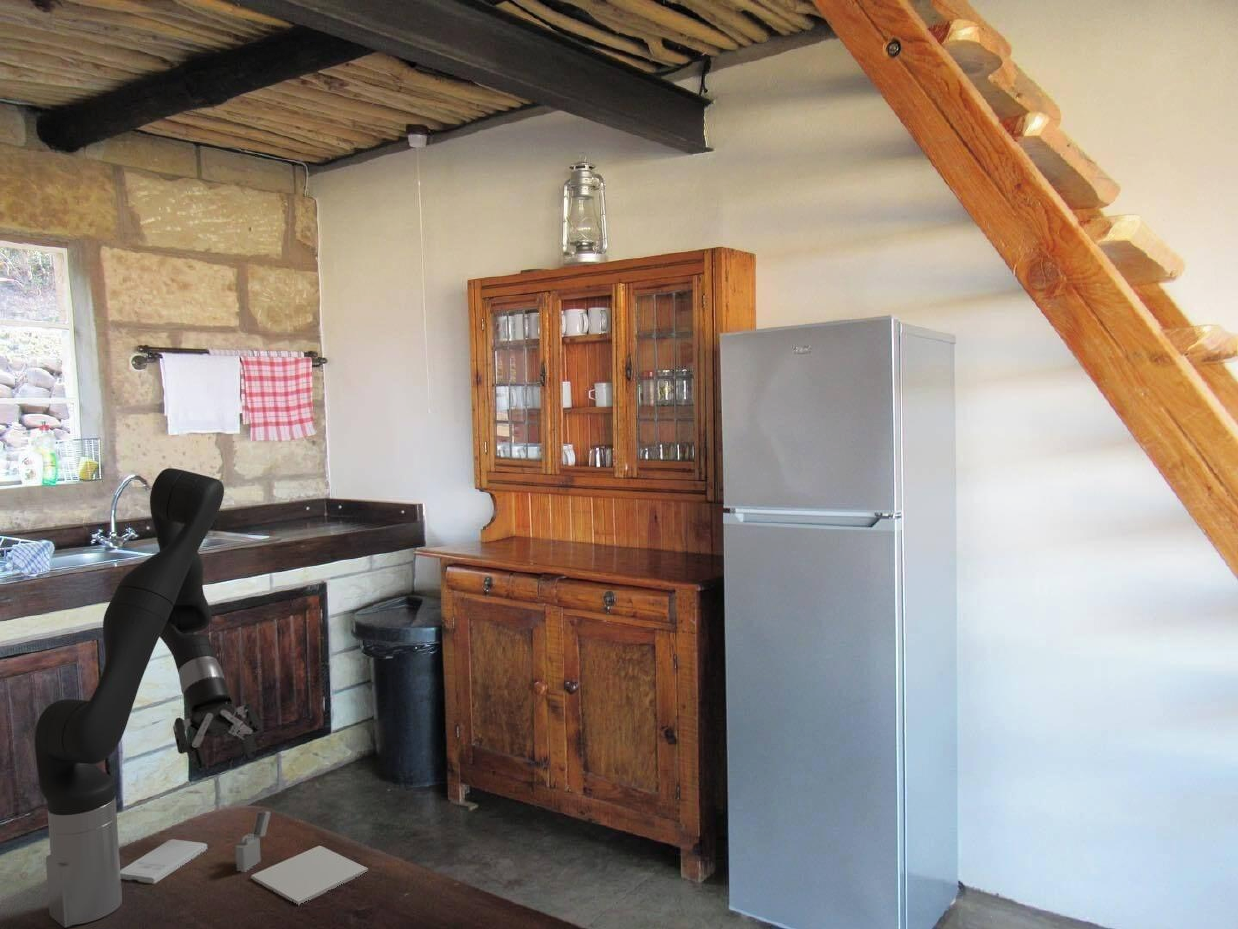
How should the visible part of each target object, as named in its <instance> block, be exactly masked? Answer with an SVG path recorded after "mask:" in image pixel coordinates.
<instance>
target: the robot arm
mask: <svg viewBox="0 0 1238 929" xmlns="http://www.w3.org/2000/svg"><path fill="white" fill-rule="evenodd" d="M224 496H225V487H224V484H223V482H222V481H221V480H220V479H218V478H215V477H211V476H208V475H203V474H199V473H196V472H192V471H188V470H185V469H184V470H183V469H179V468H172V467H168V468H165V469H162V470H161V471H160V472H159V474H158V475H157V476H156V478H155V479H154V481H153V484H152V486H151V490H150V495H149V507H150V515H151V520H152V524H153V528H154V532H155V536H156V537H155V538H156V541H157V546H158V549H159V551H158V552H157V553H155V554H153V555H152V556H151V557H149V558H147V559H146V560H144V561H142V563H139V564H138V565H137V566H135V567H134V568H132V569H131V570H130V571H129V572H127V574H126V575H124V577H123V578H122V579H121V580H120V582H119V583H118V585H117V587H116V589H115V591H114V592H113V593H114V594H113V595H112V597H111V599H110V601H109V604H108V606H107V608H106V610H105V612H104V615H103V620H102V631H103V632H102V634H103V635H102V636H103V644H104V654H105V657H104V658H105V659H104V665H103V666H104V667H103V670H102V674H101V676H100V678H99V681H98V684H97V686H96V688H95V689H94V691H93V694H92V696H91V698H90V699H89V700H85V699H83V700H82V699H71V698H70V699H69V698H68V699H67V698H66V699H60V700H56V701H54V702H52V703H51V704H49V705H48V706H47V707H46V708H45V709H44V710H43V712H42V713H41V714H40V716H39V718H38V719H37V722H36V727H35V730H34V731H35V732H34V753H35V759H36V760H35V761H36V768H37V775H38V776H37V777H38V784H39V785H38V786H39V790H40V792H41V794H42V796H43V797H44V799H45V801H46V806H47V807H46V808H47V819H48V820H47V821H48V834H49V835H48V836H49V838H48V839H49V850H50V854H49V855H47V856H46V857H45V867H46V883H47V895H48V896H47V899H48V911H49V917H51V918H52V919H53V920H54V921H56V922H57V923H58V924H59V925H60V926H62V927H63V928H69V927H71V926H75V925H82V924H86V923H90V922H94V921H97V920H99V919H102V918H104V917H106V916H108V915H110V914H112V913H113V912H116V911H117V910H118V908H120V907H121V905H122V902H123V893H122V892H123V890H122V889H123V888H122V879H121V875H120V870H121V864H120V862H121V860H120V848H119V847H120V846H119V845H120V844H119V831H118V830H119V829H118V817H117V816H118V815H117V799H116V798H117V797H116V783H115V780H114V779H113V777H112V776H111V775H109V774H108V773H106V772H105V771H103V770H102V769H101V768H100V767H99V766H98V765H97V764H99V763H101V762H103V761H105V760H106V759H108V758H109V757H110V756H111V755H112V753H114V752H115V750H116V748H117V747H118V746H119V744H120V742H121V739H122V738H123V736H124V733H125V731H126V728H127V726H128V722H129V718H130V716H131V713H132V709H133V706H134V703H135V701H136V697H137V694H138V691H139V687H140V685H141V683H142V680H143V676H144V674H145V673H146V672H145V671H146V670H147V667H148V665H149V662H150V659H151V657H152V655H153V652H154V650H155V648H156V645H157V643H158V640H159V638H160V639H161V641H162V642H163V643H164V644H165V645H166V646H167V649H168V650H169V651H170V653H171V655H172V657H173V661H174V663H175V667H176V669H177V673H178V676H179V685H180V690H181V692H182V695H183V698H184V701H185V705H186V708H187V711H188V714H189V718H185V719H183V718H182V717H176V718H175V720H174V723H173V728H172V729H173V733H174V738H175V744H176V747H177V752H178V754H180V755H183V754H184V753H185V754H187V753H188V754H190V755H191V758H192V761H193V766H194V768H195V769H196V770H199V772H203V771H205V770H206V768H207V762H206V759H205V756H204V751H203V749H202V746H201V745H202V742H203V741H204V738H205V737H206V738H209V739H211V738H215V737H216V736H224V735H226V734H227V735H228V733H229V734H231V735H232V736H234V737H236V736H237V737H238V738H240V739H242V740H243V742H242V743H243V747H244V749H245V752H246V755H247V758H248V759H254V756H255V755H256V753H257V749H258V746H257V744H256V741H255V738H254V736H258V735H259V734H260V730H261V728H262V725H261V721H260V719H259V717H258V715H257V712H256V710H255V708H254V705H253V702H250V701H247V702H245V704H244V705H242V706H239V707H237V706H236V705H234V702H233V700H232V696H231V693H230V691H229V687H228V684H227V681H226V679H225V676H224V672H223V669H222V667H221V665H220V664H219V662H218V658H217V656H216V653H215V649H214V647H213V644H212V641H211V639H210V638H209V637H208V636H207V635H204V634H193V633H197V632H200V631H203V630H206V628H207V627H208V626H209V625H210V623H211V622H212V610H211V607H210V604H209V603H208V602H209V601H207V599H206V595H205V593H204V586H203V583H204V580H203V579H204V566H203V561H202V558H201V556H200V553H199V552H198V551H199V549H200V548H201V546H202V544H203V541H204V540H205V538H206V536H207V535H208V533H209V531H210V529H211V527H212V525H213V523H214V522H215V519H216V518H217V515H218V513H219V511H220V509H221V506H222V503H223V500H224ZM181 524H183V527H182V525H181ZM237 715H240V716H241V717H242V718H243V719H245V720H246V722H247V725H246V724H244V721H242V720H241V719H239V718H237V717H238V716H237ZM189 727H191V728H192V729H193V730H195V731H196V732H197V733H196V735H195V737H194V739H193V741H192V742H188V739H187V738H188V737H187V734H186V732H187V730H188V728H189Z"/></svg>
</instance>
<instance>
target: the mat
mask: <svg viewBox="0 0 1238 929" xmlns="http://www.w3.org/2000/svg"><path fill="white" fill-rule="evenodd" d="M367 871H368V872H369V867H366V866H363V865H362V864H360V863H357V862H355V861H353V860H352V859H349V858H347V857H345V856H342V855H341V854H339V853H337V852H334V851H332V850H331V849H328V848H327V847H324V846H321V845H318V846H316V847H313V848H311V849H309V850H306V851H304V852H302V853H299V854H297V855H294V856H291V857H290V858H288V859H285V860H283V861H281V862H279V863H276V864H274V865H271V866H270V867H267V868H265V869H262V870H260V871H258V872H256V873H253V874H252V875H251V876H250V877H251V880H252V879H253V880H252V881H255V882H256V883H257V884H260V885H261V884H262V885H261V886H264V887H265V888H267V889H268V890H270V889H271V890H270V891H272V890H273V891H272V892H274V893H276V894H277V895H279V896H281V897H283V898H285V899H287V901H288V900H289V902H292V901H293V902H294V903H293V902H292V903H293V904H295V903H296V905H297V904H298V905H297V906H301V905H302V904H301V903H303V904H305V903H306V902H305V901H307V902H309V901H310V900H313V899H315V898H318V897H319V896H321V895H323V894H326V893H327V891H328V890H330V891H331V889H332V890H334V889H335V888H338V887H340V886H341V884H342V885H344V884H346V883H348V882H350V881H353V880H354V879H356V878H355V877H357V878H359V877H361V876H362V874H363V873H365V872H367ZM368 872H367V873H368ZM365 874H366V873H365ZM360 875H361V876H360ZM363 875H364V874H363ZM358 876H359V877H358ZM343 883H344V884H343ZM339 885H340V886H339ZM337 886H338V887H337ZM328 892H329V891H328ZM308 900H309V901H308ZM304 902H305V903H304ZM300 904H301V905H300Z"/></svg>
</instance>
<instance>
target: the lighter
mask: <svg viewBox="0 0 1238 929" xmlns="http://www.w3.org/2000/svg"><path fill="white" fill-rule="evenodd" d="M270 818H271V812H270V811H267V810H258V811H257V813H256V816H255V821H254V826H253V830H252V833H247V834H246V835H244V836H242V837H241V842H240V843H238V844H237V845H235V859H236V860H235V862H236V872H237V871H241V872H240V873H243V872H244V873H246V872H248V871H249V870H251V869H252V868H253V867H252V866H254V865H255V866H256V864H257V863H258V862H259V863H261V862H260V861H262V859H261V844H260V842H261V840H260V838H265V837H266V834H267V829H268V825H269V821H270ZM259 863H258V864H259ZM258 864H257V865H258ZM255 866H254V867H255ZM250 868H251V869H250ZM247 870H248V871H247Z"/></svg>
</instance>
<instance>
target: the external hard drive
mask: <svg viewBox="0 0 1238 929" xmlns="http://www.w3.org/2000/svg"><path fill="white" fill-rule="evenodd" d="M206 849H207V850H208V843H205V842H197V841H190V840H183V839H182V840H181V839H175V838H174V839H173V838H172V839H169V840H167V841H165V842H164V843H162V844H161V845H159V846H158V847H156V848H154V849H153V850H151V851H149V852H148V853H146V854H144V855H143V856H141V857H140V858H137V859H136V860H135V861H132V862H131V863H130V864H129V865H127V866H125V867H123V868H121V869H120V875H121V880H127V881H138V882H140V883H147V884H153V885H154V884H156V883H158V882H159V881H161V880H162V879H164V878H166V877H167V876H168V875H170V874H172V873H173V872H175V871H176V870H178V869H179V868H181V867H183V866H184V865H185V863H186V864H187V863H188V862H190V861H192V860H193V859H195V858H196V857H198V856H200V855H201V854H202V853H204V852H206V851H207V850H206ZM201 852H202V853H201ZM200 853H201V854H200ZM197 855H198V856H197ZM191 859H192V860H191ZM182 865H183V866H182ZM180 866H181V867H180Z"/></svg>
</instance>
